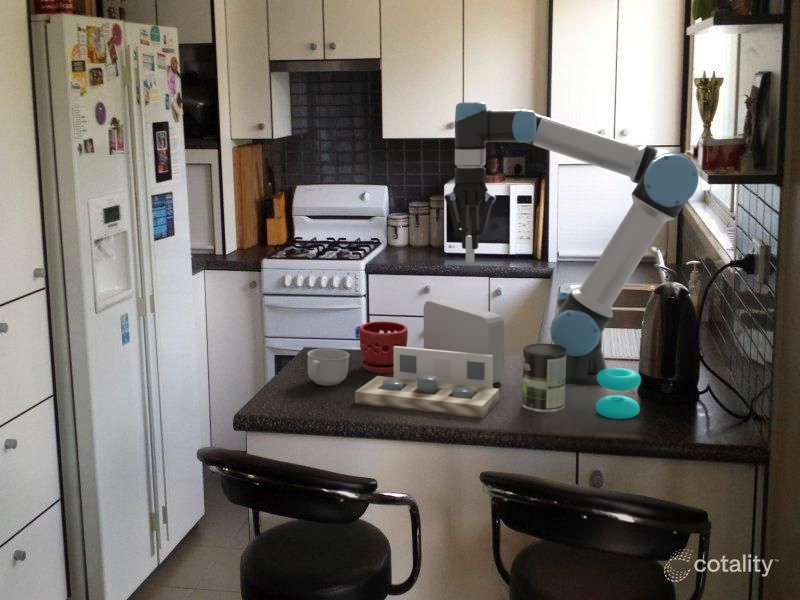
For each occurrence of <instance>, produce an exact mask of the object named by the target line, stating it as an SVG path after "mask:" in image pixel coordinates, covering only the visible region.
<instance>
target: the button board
mask: <svg viewBox="0 0 800 600" xmlns="http://www.w3.org/2000/svg"><path fill="white" fill-rule="evenodd" d="M386 380H400V381H402V382H403V389H402V390H401V391H395V390H386V389H383V382H384V381H386ZM458 387H467V388H471V389H473V398H472V399H466V398H458V397H452V390H453V389H454V388H458ZM354 396H355V399H354V403H355V404H359V405H366V406H375V407H383V408H384V407H385V408H392V409H400V410H408V411H418V412H425V413H435V414H441V415H442V414H443V415H452V416H460V417H461V416H462V417H469V418H477V419H484V417H485V416H486V415H488V413H489V412H490V411H491V410H492V409H493V408H494V407H495V406H496V405H497V404H498V403H499V402H500V388H495V387H493V388H487V387H477V386H468V385H458V384H449V383H440V382H438V391H437V392H434V393H421V392H418V391H417V380H411V379H402V378H394V376H393V377H392V376H383V375H382V376H380V375H377V376H375V377H374V378H372V379H371V380H369V381H368V382H366V383H365V384H363V386H361V387H360V388H358V389H357V390H355V391H354Z"/></svg>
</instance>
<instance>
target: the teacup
mask: <svg viewBox="0 0 800 600" xmlns="http://www.w3.org/2000/svg"><path fill="white" fill-rule="evenodd" d="M306 355H307V374H308V376H309V379H310V380H312V381H313V382H314V383H315V384H317V385H319V386H328V387H330V386H337V385H339V384H341V383H342V382H343V381H345V380H346V378H347V376H348V371H349V360H350V353H349V352H348V351H345V350H342V349H337V348H316V349H312V350H309V351H308V352H307V353H306Z"/></svg>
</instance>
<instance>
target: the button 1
mask: <svg viewBox="0 0 800 600" xmlns="http://www.w3.org/2000/svg"><path fill="white" fill-rule="evenodd" d="M383 389H386V390H395V391H401V390H402V389H403V382H402V381H400V380H386V381H384V382H383Z"/></svg>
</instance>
